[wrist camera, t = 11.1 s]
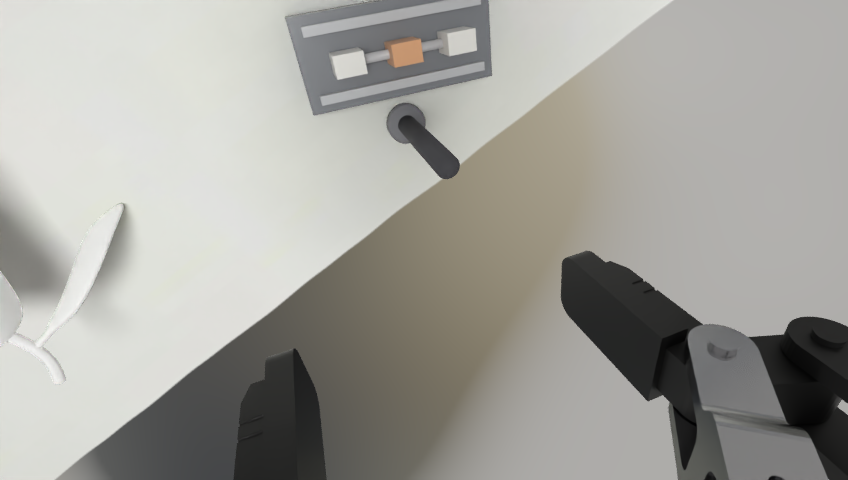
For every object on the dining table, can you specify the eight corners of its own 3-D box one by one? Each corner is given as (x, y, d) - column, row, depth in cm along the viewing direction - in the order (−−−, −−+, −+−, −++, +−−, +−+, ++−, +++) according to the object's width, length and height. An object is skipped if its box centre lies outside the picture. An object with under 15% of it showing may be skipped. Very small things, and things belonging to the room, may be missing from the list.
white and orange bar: (463, 26, 37) (475, 28, 35) (465, 47, 38) (476, 50, 36) (328, 52, 35) (331, 56, 33) (333, 74, 36) (337, 79, 34)
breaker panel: (474, -18, 39) (490, -19, 36) (479, 71, 43) (494, 76, 40) (284, 16, 35) (285, 18, 33) (311, 108, 40) (314, 117, 37)
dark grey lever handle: (389, 100, 42) (429, 140, 31) (425, 105, 43) (476, 145, 32) (384, 138, 44) (420, 189, 33) (419, 142, 45) (464, 191, 34)
